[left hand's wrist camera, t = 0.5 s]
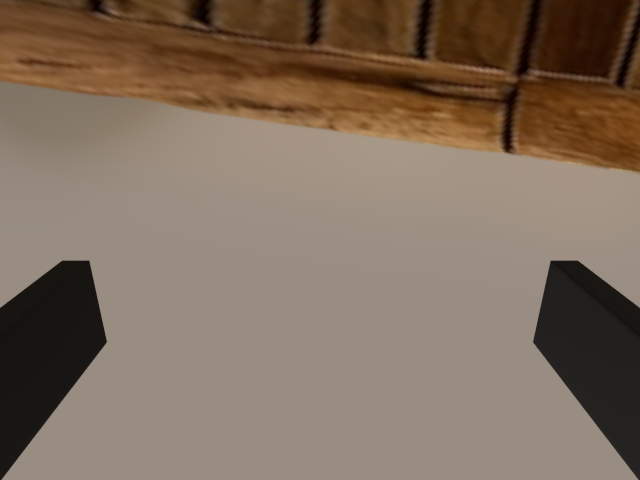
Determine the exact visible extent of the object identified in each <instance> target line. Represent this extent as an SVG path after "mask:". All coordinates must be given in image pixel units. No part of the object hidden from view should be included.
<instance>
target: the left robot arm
mask: <svg viewBox="0 0 640 480" xmlns="http://www.w3.org/2000/svg"><path fill="white" fill-rule="evenodd" d="M106 343H107V340H106V336H105V331H104V327H103V322H102V317H101V313H100V308H99V304H98V299H97V294H96V290H95V285H94V280H93V276H92V271H91V267H90V262H89V261H61V262H60V263H59V264H57V265H56V266H55V267H53V268H52V269H51V270H49V271H48V272H47V273H46V274H44V275H43V276H42V277H40V278H39V279H38V280H36V281H35V282H34V283H32V284H31V285H30V286H28V287H27V288H26V289H24V290H23V291H22V292H21V293H19V294H18V295H17V296H15V297H14V298H13V299H11V300H10V301H9V302H7V303H6V304H5V305H4V306H2V307H1V308H0V480H2V478H3V477H4V475H5V474H6V473H7V472H8V470H9V469H10V468H11V466H12V465H13V464H14V463H15V461H16V460H17V459H18V457H19V456H20V455H21V453H22V452H23V451H24V450H25V448H26V447H27V446H28V444H29V443H30V442H31V440H32V439H33V438H34V437H35V435H36V434H37V433H38V431H39V430H40V429H41V427H42V426H43V425H44V423H45V422H46V421H47V420H48V418H49V417H50V416H51V414H52V413H53V412H54V410H55V409H56V408H57V407H58V405H59V404H60V403H61V401H62V400H63V399H64V397H65V396H66V395H67V393H68V392H69V391H70V390H71V388H72V387H73V386H74V384H75V383H76V382H77V380H78V379H79V378H80V377H81V375H82V374H83V373H84V371H85V370H86V369H87V367H88V366H89V365H90V364H91V362H92V361H93V360H94V358H95V357H96V356H97V354H98V353H99V352H100V350H101V349H102V348H103V347H104V345H105V344H106ZM533 343H534V344H535V345H536V347H537V348H538V349H539V350H540V352H541V353H542V354H543V356H544V357H545V358H546V360H547V361H548V362H549V364H550V365H551V366H552V367H553V369H554V370H555V371H556V373H557V374H558V375H559V377H560V378H561V379H562V380H563V382H564V383H565V384H566V386H567V387H568V388H569V390H570V391H571V392H572V394H573V395H574V396H575V397H576V399H577V400H578V401H579V403H580V404H581V405H582V407H583V408H584V409H585V410H586V412H587V413H588V414H589V416H590V417H591V418H592V420H593V421H594V422H595V423H596V425H597V426H598V427H599V429H600V430H601V431H602V433H603V434H604V435H605V437H606V438H607V439H608V440H609V442H610V443H611V444H612V446H613V447H614V448H615V449H616V451H617V452H618V453H619V455H620V456H621V457H622V459H623V460H624V461H625V463H626V464H627V465H628V466H629V468H630V469H631V470H632V472H633V473H634V474H635V476H636V477H637V478H638V480H640V308H639V307H638V306H636V305H635V304H634V303H633V302H631V301H630V300H629V299H627V298H626V297H625V296H623V295H622V294H621V293H619V292H618V291H617V290H616V289H614V288H613V287H612V286H610V285H609V284H608V283H606V282H605V281H604V280H602V279H601V278H600V277H598V276H597V275H596V274H594V273H593V272H592V271H591V270H589V269H588V268H587V267H585V266H584V265H583V264H581V263H580V262H579V261H551V262H550V267H549V271H548V276H547V280H546V285H545V290H544V294H543V299H542V304H541V308H540V313H539V317H538V322H537V327H536V332H535V336H534V340H533Z"/></svg>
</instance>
